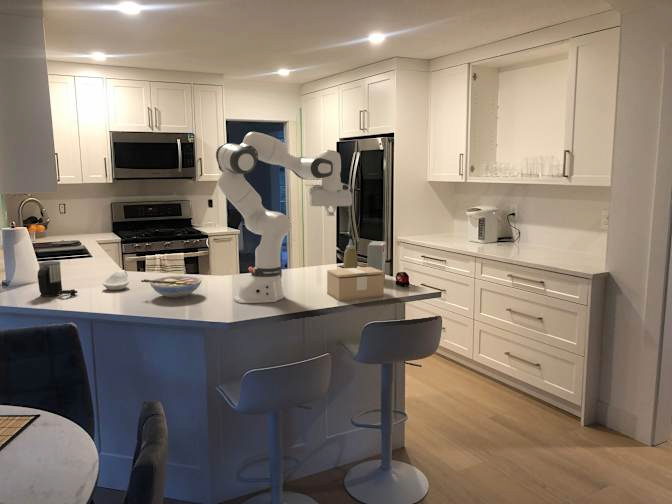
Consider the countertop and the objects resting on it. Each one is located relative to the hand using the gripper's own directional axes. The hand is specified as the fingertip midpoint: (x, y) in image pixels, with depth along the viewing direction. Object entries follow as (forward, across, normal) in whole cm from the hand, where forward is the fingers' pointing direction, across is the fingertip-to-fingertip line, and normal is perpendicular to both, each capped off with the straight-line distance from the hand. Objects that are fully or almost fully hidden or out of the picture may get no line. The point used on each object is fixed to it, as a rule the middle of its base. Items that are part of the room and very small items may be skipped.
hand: (330, 215), depth 256 cm
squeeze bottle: (+35, +27, +37) cm, 58 cm away
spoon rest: (+37, -93, +43) cm, 109 cm away
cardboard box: (+35, +8, -14) cm, 39 cm away
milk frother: (+38, -118, +34) cm, 129 cm away
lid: (+25, +7, -14) cm, 29 cm away
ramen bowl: (+37, -69, +12) cm, 79 cm away
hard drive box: (+35, +29, +9) cm, 47 cm away
